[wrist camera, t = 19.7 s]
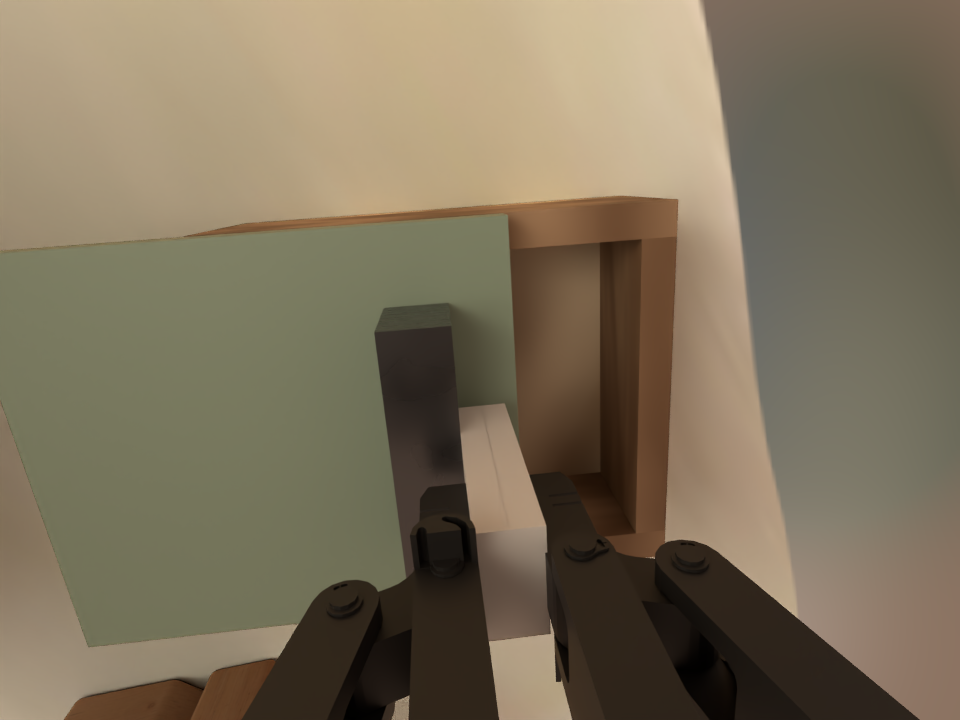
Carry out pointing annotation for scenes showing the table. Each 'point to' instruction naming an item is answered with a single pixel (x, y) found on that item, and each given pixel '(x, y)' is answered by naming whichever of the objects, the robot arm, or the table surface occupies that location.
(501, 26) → the table surface
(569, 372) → the wooden box
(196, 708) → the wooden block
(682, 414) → the table surface
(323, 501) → the lid
